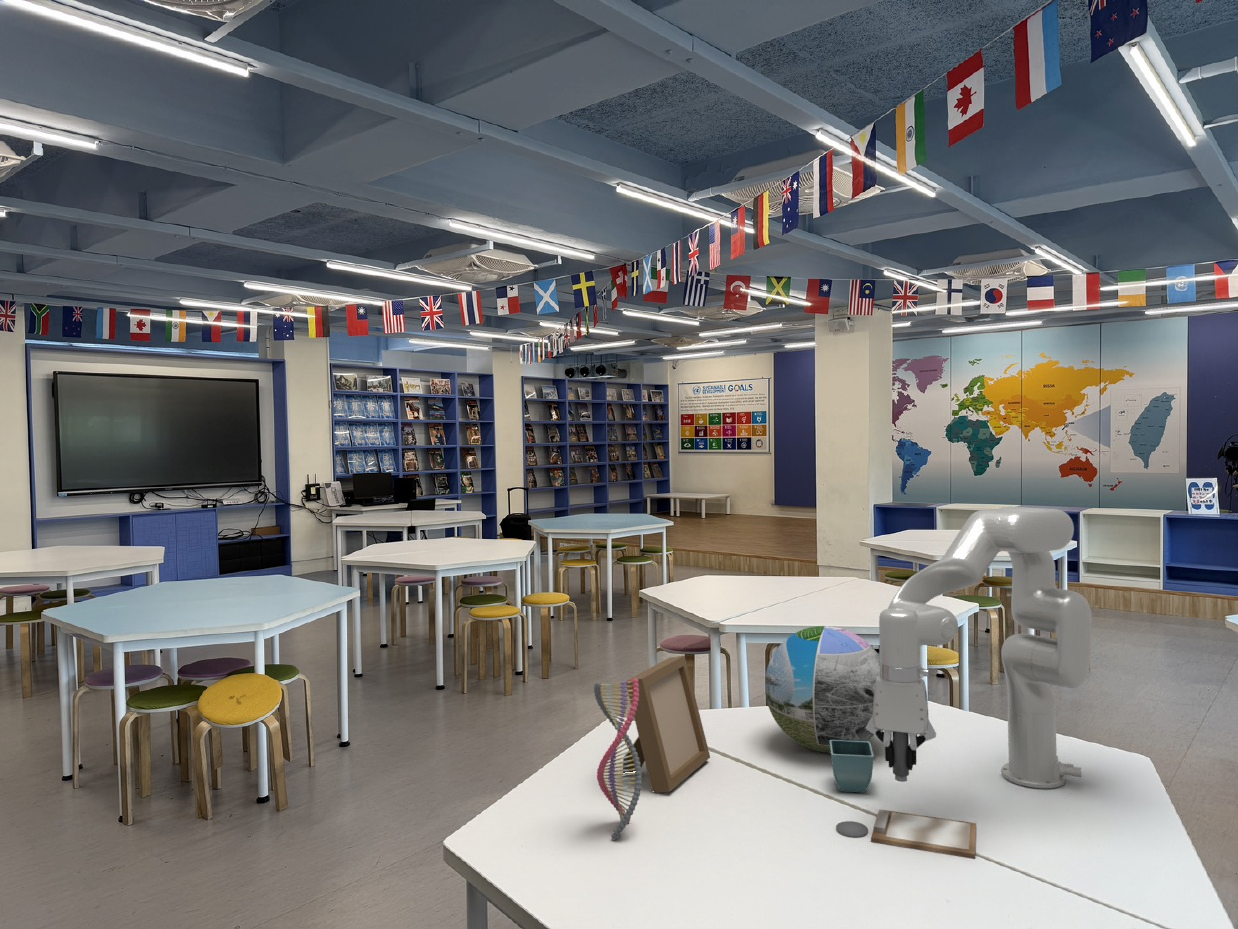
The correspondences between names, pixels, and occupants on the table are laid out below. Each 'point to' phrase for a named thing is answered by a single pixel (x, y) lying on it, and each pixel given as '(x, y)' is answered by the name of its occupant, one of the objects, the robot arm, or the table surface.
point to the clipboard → (925, 833)
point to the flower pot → (852, 764)
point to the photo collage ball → (823, 686)
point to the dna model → (612, 751)
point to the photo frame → (667, 725)
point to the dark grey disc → (852, 829)
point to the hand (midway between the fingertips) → (900, 765)
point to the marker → (900, 755)
